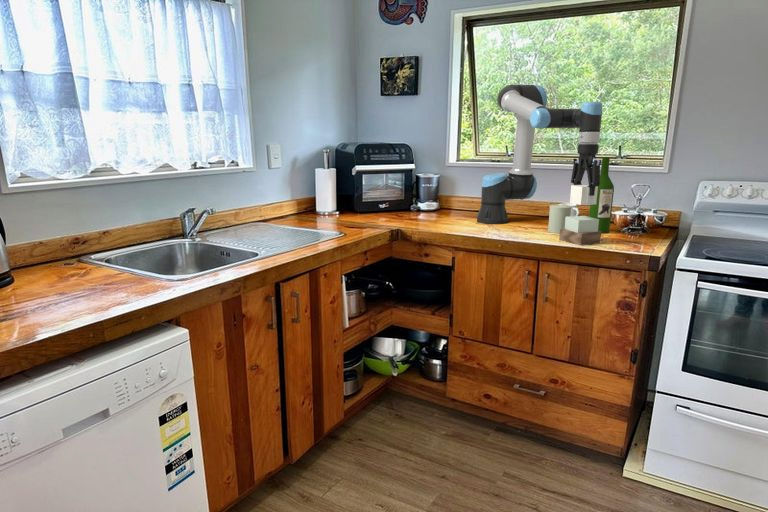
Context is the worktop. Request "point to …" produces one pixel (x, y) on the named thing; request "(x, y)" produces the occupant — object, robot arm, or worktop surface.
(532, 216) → the worktop surface
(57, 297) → the worktop surface
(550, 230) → the can
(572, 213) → the mug
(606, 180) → the wine bottle
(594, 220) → the top block
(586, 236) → the base block
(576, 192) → the cube
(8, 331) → the worktop surface
